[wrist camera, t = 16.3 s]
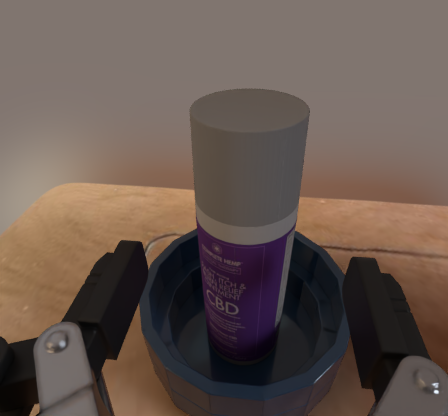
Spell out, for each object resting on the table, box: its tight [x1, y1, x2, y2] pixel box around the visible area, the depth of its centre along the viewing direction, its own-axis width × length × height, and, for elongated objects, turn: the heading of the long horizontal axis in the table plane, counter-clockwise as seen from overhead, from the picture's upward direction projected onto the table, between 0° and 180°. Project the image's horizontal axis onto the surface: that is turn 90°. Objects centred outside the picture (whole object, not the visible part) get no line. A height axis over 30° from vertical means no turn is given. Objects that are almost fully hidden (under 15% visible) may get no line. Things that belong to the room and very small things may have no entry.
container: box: [190, 89, 310, 365], centre depth 16 cm, size 5×5×15 cm
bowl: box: [139, 229, 350, 416], centre depth 20 cm, size 12×12×5 cm
